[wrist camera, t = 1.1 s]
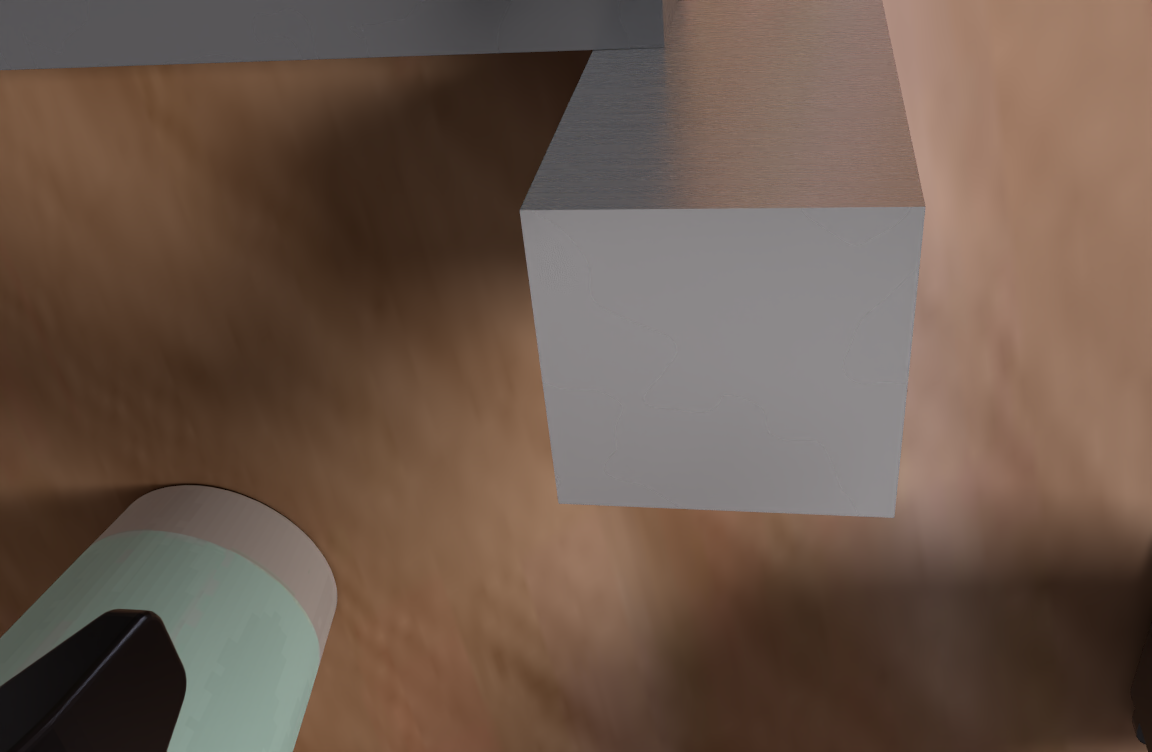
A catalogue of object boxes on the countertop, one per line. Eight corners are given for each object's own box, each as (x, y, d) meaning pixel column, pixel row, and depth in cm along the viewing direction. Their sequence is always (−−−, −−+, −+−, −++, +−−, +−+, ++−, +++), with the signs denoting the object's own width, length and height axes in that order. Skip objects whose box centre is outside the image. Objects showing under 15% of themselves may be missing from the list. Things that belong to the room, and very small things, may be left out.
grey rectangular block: (876, -24, 17) (925, 206, 10) (862, 209, 19) (893, 518, 13) (621, -13, 18) (519, 210, 11) (636, 211, 20) (559, 503, 13)
